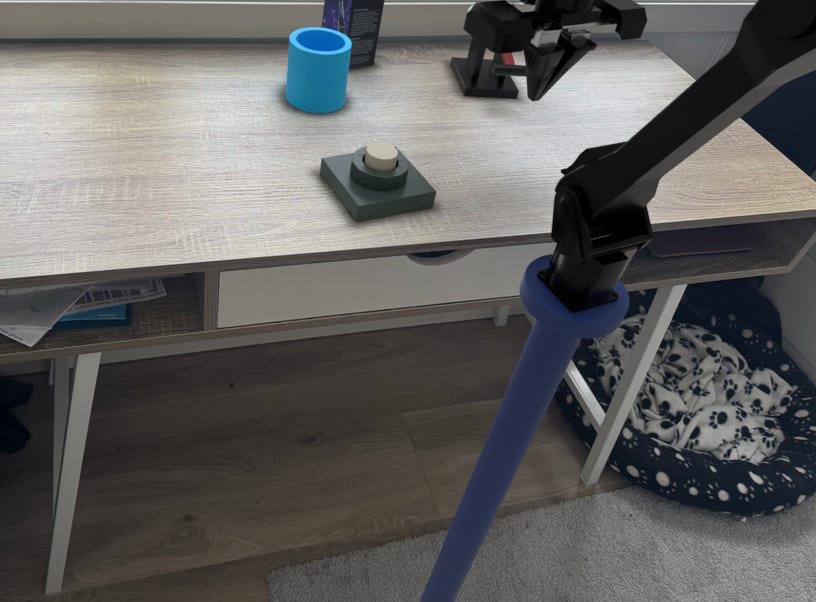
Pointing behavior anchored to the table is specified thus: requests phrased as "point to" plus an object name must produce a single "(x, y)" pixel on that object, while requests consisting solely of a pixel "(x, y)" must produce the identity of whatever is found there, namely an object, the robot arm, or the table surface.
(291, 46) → the mug
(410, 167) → the button block
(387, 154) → the button
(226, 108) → the table surface
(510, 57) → the lever
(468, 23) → the robot arm
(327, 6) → the box
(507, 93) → the bracket
